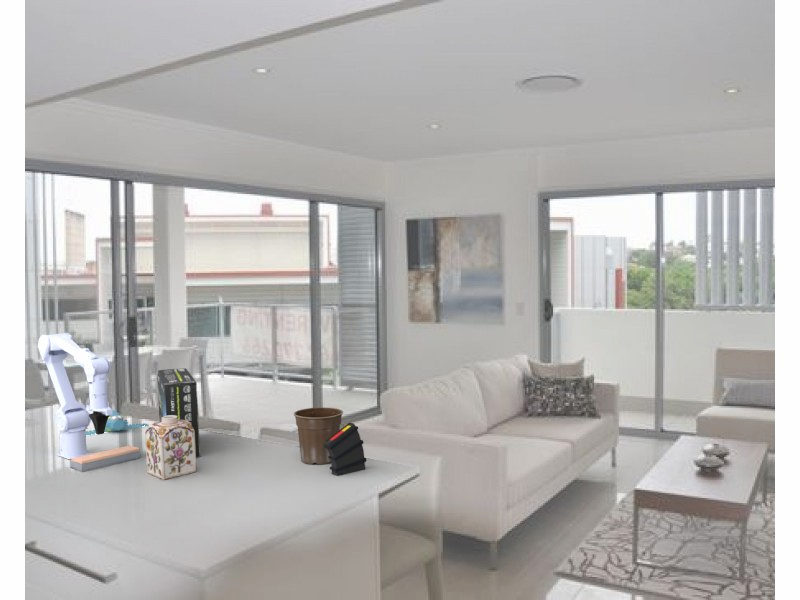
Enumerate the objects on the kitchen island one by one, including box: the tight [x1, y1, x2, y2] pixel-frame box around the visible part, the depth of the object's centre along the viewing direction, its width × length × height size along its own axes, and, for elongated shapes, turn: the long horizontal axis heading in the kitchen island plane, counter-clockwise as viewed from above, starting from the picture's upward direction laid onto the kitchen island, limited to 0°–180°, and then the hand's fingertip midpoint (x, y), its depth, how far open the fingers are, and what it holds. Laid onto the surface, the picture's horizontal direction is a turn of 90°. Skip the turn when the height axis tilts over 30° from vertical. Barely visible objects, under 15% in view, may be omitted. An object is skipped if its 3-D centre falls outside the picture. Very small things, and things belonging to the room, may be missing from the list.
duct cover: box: [70, 445, 140, 464], centre depth 235 cm, size 7×20×1 cm, turn 139°
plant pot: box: [293, 406, 344, 465], centre depth 233 cm, size 16×16×16 cm
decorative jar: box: [144, 415, 197, 481], centre depth 222 cm, size 12×12×18 cm
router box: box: [156, 368, 201, 458], centre depth 253 cm, size 36×11×27 cm, turn 23°
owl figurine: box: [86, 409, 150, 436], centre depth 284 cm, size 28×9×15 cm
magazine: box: [324, 422, 367, 476], centre depth 218 cm, size 4×13×15 cm, turn 127°
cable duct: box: [69, 451, 141, 473], centre depth 236 cm, size 8×20×2 cm, turn 139°
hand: (100, 433), depth 238 cm, fingers closed
